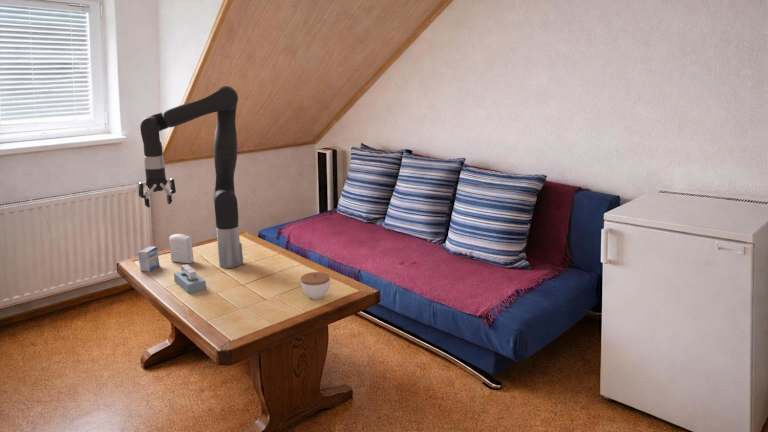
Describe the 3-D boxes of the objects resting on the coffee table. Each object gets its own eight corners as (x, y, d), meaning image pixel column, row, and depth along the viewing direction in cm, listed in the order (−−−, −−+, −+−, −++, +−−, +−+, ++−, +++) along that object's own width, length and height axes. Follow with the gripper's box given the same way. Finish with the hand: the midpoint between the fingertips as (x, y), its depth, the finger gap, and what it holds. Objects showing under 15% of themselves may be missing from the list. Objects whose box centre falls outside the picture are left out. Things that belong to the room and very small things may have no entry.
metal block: (188, 280, 254) (187, 264, 252) (197, 288, 246) (196, 271, 244) (182, 282, 252) (180, 265, 250) (191, 289, 244) (189, 272, 242)
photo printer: (169, 261, 275) (166, 234, 272) (176, 258, 279) (173, 231, 276) (189, 264, 272) (186, 237, 268) (195, 261, 276) (192, 234, 272)
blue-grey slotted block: (191, 277, 257) (190, 269, 256) (206, 289, 245) (205, 280, 244) (174, 281, 253) (173, 272, 252) (188, 293, 241) (187, 284, 240)
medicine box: (149, 272, 263) (147, 252, 261) (140, 271, 264) (137, 251, 262) (159, 265, 271) (157, 246, 268) (150, 264, 272) (148, 245, 269)
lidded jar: (306, 303, 230) (305, 280, 228) (298, 293, 240) (297, 270, 237) (334, 299, 234) (333, 275, 232) (325, 288, 244) (324, 266, 241)
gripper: (169, 163, 261) (172, 201, 265) (133, 167, 252) (138, 206, 257) (175, 165, 255) (179, 204, 259) (139, 170, 247) (143, 210, 251)
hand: (158, 205), depth 258 cm, fingers open, 8 cm apart
